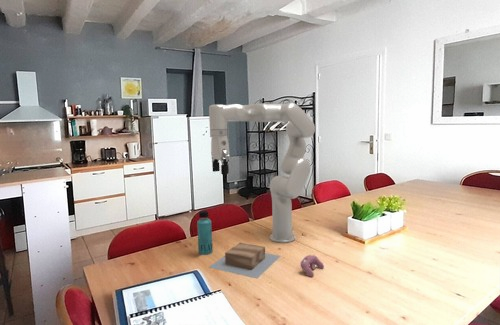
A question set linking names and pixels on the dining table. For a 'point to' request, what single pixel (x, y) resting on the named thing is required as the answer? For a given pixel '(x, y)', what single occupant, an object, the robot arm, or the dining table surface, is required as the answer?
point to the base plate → (250, 273)
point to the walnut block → (245, 256)
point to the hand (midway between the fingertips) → (220, 172)
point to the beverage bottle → (204, 234)
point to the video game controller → (311, 261)
